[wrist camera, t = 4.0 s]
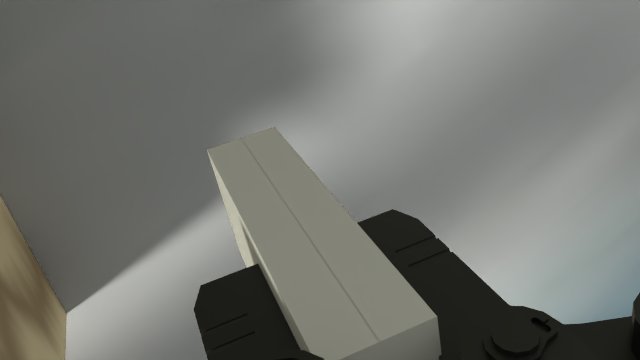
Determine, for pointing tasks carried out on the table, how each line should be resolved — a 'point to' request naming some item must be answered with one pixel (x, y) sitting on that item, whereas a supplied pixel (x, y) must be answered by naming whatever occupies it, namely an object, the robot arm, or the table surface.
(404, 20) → the table surface
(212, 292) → the robot arm
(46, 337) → the open wooden box
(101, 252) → the table surface
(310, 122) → the table surface
